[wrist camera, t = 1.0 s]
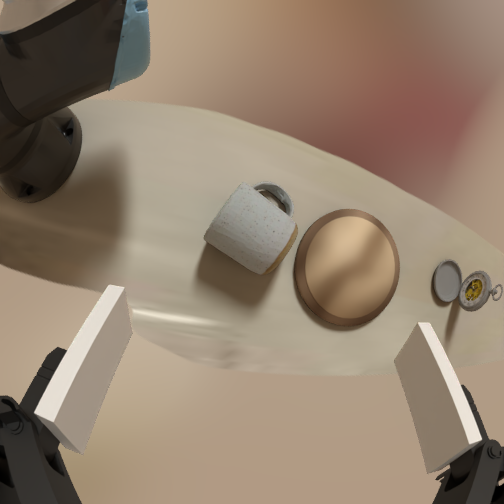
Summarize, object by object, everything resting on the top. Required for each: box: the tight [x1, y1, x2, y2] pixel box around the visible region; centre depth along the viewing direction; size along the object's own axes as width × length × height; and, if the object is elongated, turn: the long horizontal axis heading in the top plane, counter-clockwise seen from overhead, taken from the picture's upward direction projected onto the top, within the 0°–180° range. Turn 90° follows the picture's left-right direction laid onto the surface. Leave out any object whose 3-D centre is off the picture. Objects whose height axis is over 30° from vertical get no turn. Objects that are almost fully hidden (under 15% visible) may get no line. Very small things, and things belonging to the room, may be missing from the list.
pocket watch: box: [434, 259, 503, 312], centre depth 34 cm, size 8×8×10 cm
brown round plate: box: [295, 209, 400, 326], centre depth 36 cm, size 15×15×1 cm
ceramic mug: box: [204, 182, 298, 275], centre depth 32 cm, size 11×8×8 cm
